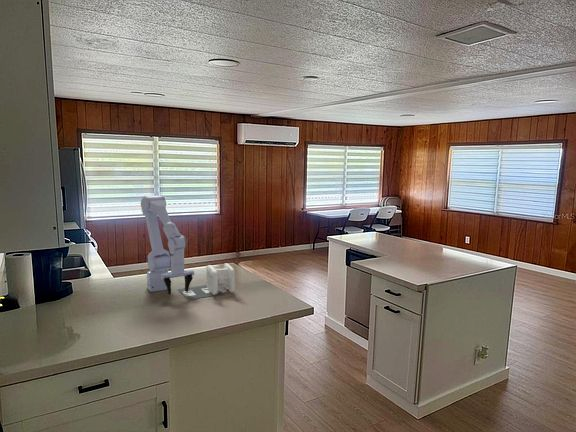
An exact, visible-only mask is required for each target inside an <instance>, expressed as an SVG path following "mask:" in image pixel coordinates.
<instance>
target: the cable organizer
mask: <svg viewBox="0 0 576 432" xmlns="http://www.w3.org/2000/svg"><path fill="white" fill-rule="evenodd" d="M235 273H236V272H235V269H234V267H232V266H231V265H230V264H229V263H223V268H215V267H214V266H212V264H208V265H206V285H207V287H208V289H209V290H210V291H211V293H212V294H213V295H215V294H217V293H218V290H219V291H221V289H225V290H228V292H229V293H235V281H236V280H235V279H236V278H235V277H236V276H235V275H236V274H235Z"/></svg>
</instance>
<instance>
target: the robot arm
mask: <svg viewBox="0 0 576 432" xmlns="http://www.w3.org/2000/svg"><path fill="white" fill-rule="evenodd" d="M140 207H141V212H142V213H141V214H142V215H143V216H144V218H145V222H146V228H147V231H148V233H147V234H148V237H149V243H150V247H151V248H150V249H151V251H150V252H149V253H148V255H147V268H148V269H149V271H147V272H146V288H147V289H148V291H149V292H150V293H152V292H160V291H167V293H168V295H169V296H171V295H172V280H171V279H174V278H182V277H184V288H185V291H186V292H188V288H190V285H191V282H192V280H193V276H195V270H193V269H192V270H185V249H186V248H187V244H188V243H187V239H186V238H187V237H185V236H184V235H183V234H182V233H180V231H179V229H178V227H177V226H176V224H175V222H173V221H172V220H171V219H170V216H169V213H168V210H167V209H166V207H167V201H166V198H165V196H164V195H153V196H151V195H150V196H146V195H145V196H143V197H142V199H141V200H140ZM158 218H159V220H160V222H161V223H162V224H163V227H162V230H163V232H164V235H165V236H166V238H167V240H168V242H167V246H168V249H169V251H168V250H166V249H164V246H163V245H164V244H163V242H162V241H163V240H162V236H161V230H160V226H159V221H158ZM169 270H170V272H169Z"/></svg>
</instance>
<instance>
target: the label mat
mask: <svg viewBox="0 0 576 432" xmlns="http://www.w3.org/2000/svg"><path fill="white" fill-rule="evenodd" d="M177 291H178V292H179V293H180V294H181V295H183V297H184V298H185V299H186V300H187V301H191V300H198V299H203V298H208V297H214V296H215V297H216V296H222V295H225V293H224V292H223V291H222V290H220V291H219V290H218V293H217V294H215V295H213V294H212V293H211V291H210V290H209V289H208V287H207V284H204V285H199V286H198V285H196V286H192V287H191V286H189V288H188V292H186V291H185V287H184V288H178V289H177Z"/></svg>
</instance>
